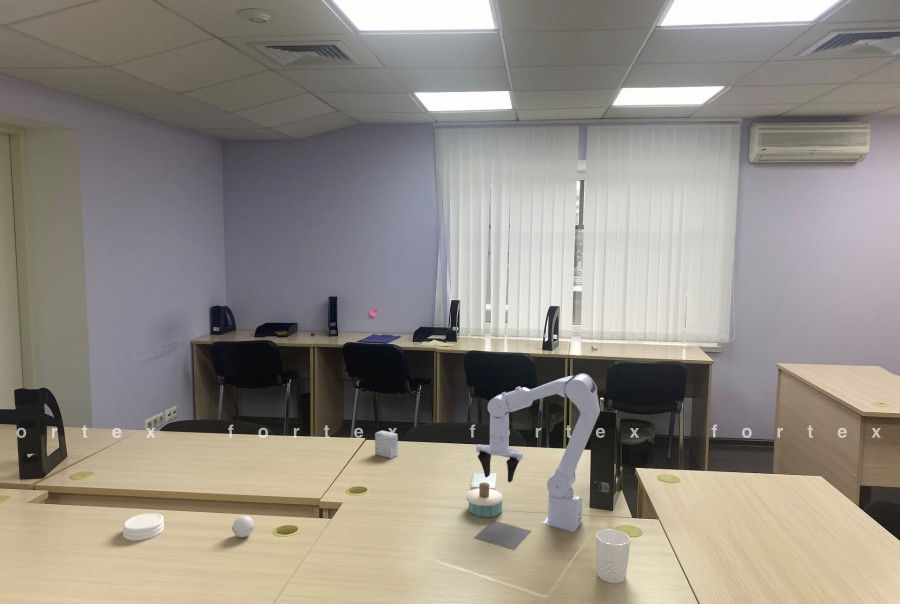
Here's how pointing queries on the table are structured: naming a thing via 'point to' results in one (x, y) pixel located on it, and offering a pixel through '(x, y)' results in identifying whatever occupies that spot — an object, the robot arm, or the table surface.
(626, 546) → the white cup
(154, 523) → the coaster
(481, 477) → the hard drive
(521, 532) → the mat
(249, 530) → the white ball
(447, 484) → the table surface
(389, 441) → the medicine box
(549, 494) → the robot arm
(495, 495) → the lid
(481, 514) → the bowl
